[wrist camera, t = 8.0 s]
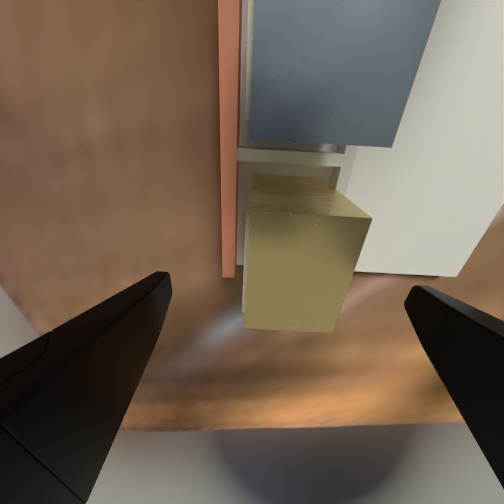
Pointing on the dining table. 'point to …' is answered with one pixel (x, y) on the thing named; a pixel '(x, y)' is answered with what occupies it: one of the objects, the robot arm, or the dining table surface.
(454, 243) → the shelf board
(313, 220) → the ochre tin
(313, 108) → the slate tin
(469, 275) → the dining table surface
